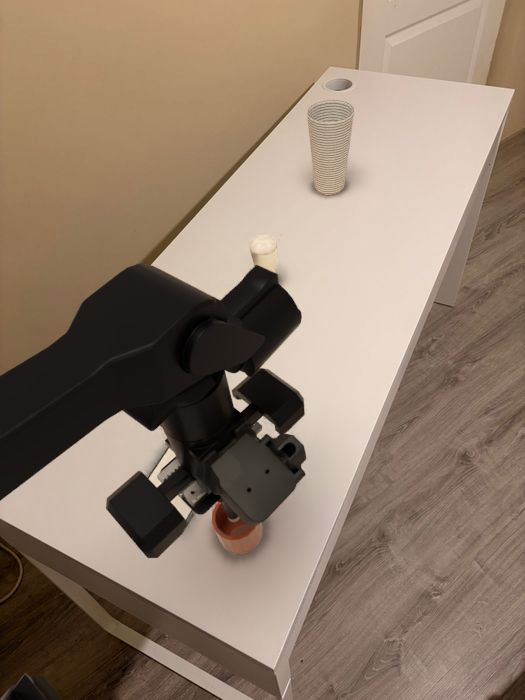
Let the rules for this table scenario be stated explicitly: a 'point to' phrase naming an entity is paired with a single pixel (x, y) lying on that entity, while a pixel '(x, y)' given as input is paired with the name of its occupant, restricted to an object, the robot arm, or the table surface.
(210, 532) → the table surface
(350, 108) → the cup
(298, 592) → the table surface
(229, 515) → the stylus
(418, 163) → the table surface
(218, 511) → the pen cup
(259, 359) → the robot arm
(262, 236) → the milkshake
